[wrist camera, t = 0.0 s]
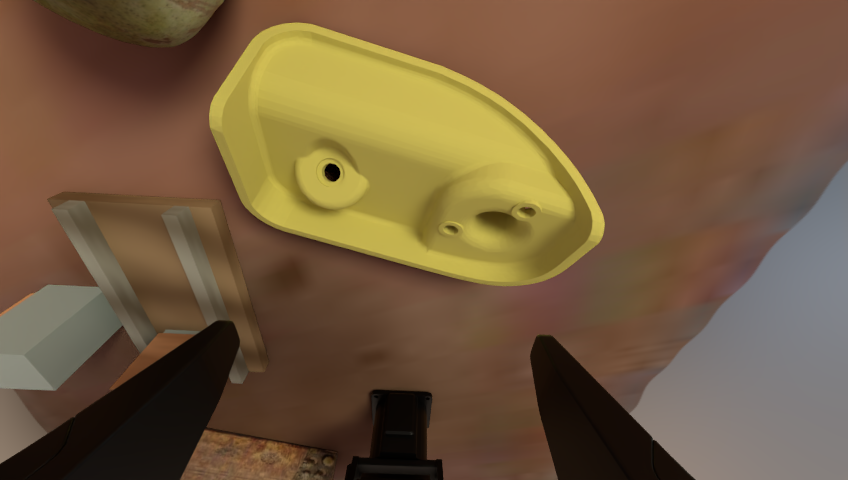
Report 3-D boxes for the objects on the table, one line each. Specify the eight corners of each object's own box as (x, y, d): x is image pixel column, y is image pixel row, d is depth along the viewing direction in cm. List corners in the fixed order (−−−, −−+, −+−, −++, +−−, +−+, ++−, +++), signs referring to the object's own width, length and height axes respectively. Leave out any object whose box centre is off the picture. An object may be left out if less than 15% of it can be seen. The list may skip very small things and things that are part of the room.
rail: (269, 361, 33) (228, 448, 27) (158, 357, 33) (87, 443, 26) (220, 200, 24) (135, 270, 17) (63, 191, 24) (-88, 259, 17)
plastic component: (249, 221, 22) (193, 90, 14) (294, 148, 26) (271, 10, 18) (527, 298, 24) (629, 221, 15) (529, 217, 28) (611, 120, 19)
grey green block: (65, 317, 30) (-22, 387, 25) (40, 284, 28) (-62, 351, 22) (127, 320, 31) (55, 390, 25) (107, 287, 28) (23, 355, 23)
